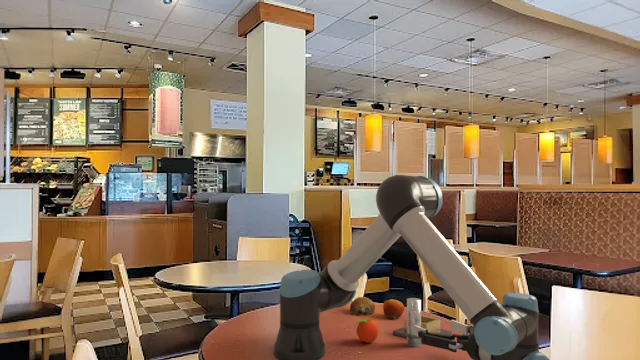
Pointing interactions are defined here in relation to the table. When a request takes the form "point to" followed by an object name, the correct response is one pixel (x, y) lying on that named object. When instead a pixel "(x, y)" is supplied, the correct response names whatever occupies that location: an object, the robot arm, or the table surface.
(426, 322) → the gold square holder
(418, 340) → the silver metal tall cylinder
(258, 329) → the table surface
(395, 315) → the fruit
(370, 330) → the clementine
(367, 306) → the bread roll
